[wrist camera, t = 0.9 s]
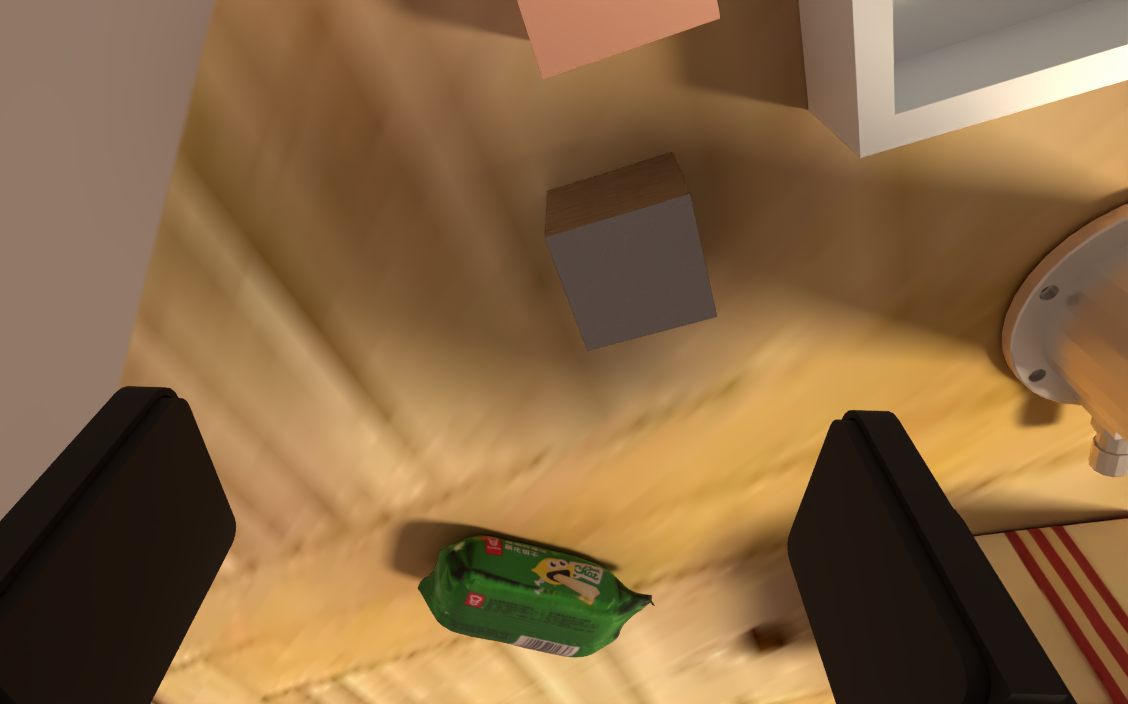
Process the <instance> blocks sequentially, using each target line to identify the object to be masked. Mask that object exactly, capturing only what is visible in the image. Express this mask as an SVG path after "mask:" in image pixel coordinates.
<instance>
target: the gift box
mask: <svg viewBox="0 0 1128 704" xmlns="http://www.w3.org/2000/svg"><path fill="white" fill-rule="evenodd" d="M974 538H975V540H976V541H977V543H978V544H979V546H980V548H981V549H982V551H983V552H984V554H985V556H986V557H987V559H988V561H989V562H990V564H991V565H992V567H993V569H994V570H995V572H996V573H997V575H998V577H999V578H1000V580H1001V581H1002V583H1003V585H1004V586H1005V588H1006V590H1007V591H1008V593H1009V594H1010V596H1011V598H1012V599H1013V601H1014V602H1015V604H1016V606H1017V607H1018V609H1019V610H1020V612H1021V614H1022V615H1023V617H1024V618H1025V620H1026V622H1027V623H1028V625H1029V627H1030V628H1031V630H1032V631H1033V633H1034V635H1035V636H1036V638H1037V639H1038V641H1039V643H1040V644H1041V646H1042V647H1043V649H1044V651H1045V652H1046V654H1047V656H1048V657H1049V659H1050V660H1051V662H1052V664H1053V665H1054V667H1055V668H1056V670H1057V672H1058V673H1059V675H1060V676H1061V678H1062V680H1063V681H1064V683H1065V685H1066V686H1067V688H1068V689H1069V691H1070V693H1071V694H1072V696H1073V697H1074V699H1075V701H1076V702H1077V704H1128V518H1126V519H1117V520H1109V521H1100V522H1090V523H1081V524H1073V525H1066V526H1054V527H1046V528H1037V529H1028V530H1019V531H1012V532H1005V533H998V534H990V535H981V536H974Z"/></svg>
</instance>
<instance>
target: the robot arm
mask: <svg viewBox="0 0 1128 704" xmlns="http://www.w3.org/2000/svg"><path fill="white" fill-rule="evenodd" d="M1002 351H1003V354H1004V357H1005V360H1006V363H1007V365H1008V366H1009V368H1010V369H1011V370H1012V372H1013V373H1014V374H1015V376H1016V377H1017V378H1018V379H1019V380H1020V381H1021V382H1022V383H1023V384H1024V385H1025V386H1026V387H1027V388H1028V389H1029V390H1030V391H1032V392H1034V393H1036V394H1037V395H1039V396H1041V397H1043V398H1045V399H1048V400H1052V401H1055V402H1059V403H1063V404H1074V405H1082V406H1083V407H1084V408H1085V409H1086V410H1087V411H1088V412H1089V413H1090V415H1091V416H1092V417H1091V425H1092V427H1093V428H1094V430H1095V431H1096V432H1097V434H1096V436H1095V437H1094V438H1093V442H1092V446H1091V451H1090V455H1089V465H1090V466H1091V467H1092V468H1093V469H1094V471H1096V472H1098V473H1100V474H1102V475H1106V476H1111V477H1120V476H1125V475H1127V474H1128V204H1125V205H1123V206H1120V207H1118V208H1116V209H1115V210H1113V211H1111V212H1109V213H1107V214H1105V215H1103V216H1101V217H1099V218H1097V219H1095V220H1093V221H1092V222H1090V223H1089V224H1087V225H1086V226H1084V227H1083V228H1081V229H1080V230H1078V231H1077V232H1075V233H1074V234H1072V235H1071V236H1069V237H1068V238H1067V239H1066V240H1064V241H1063V242H1062V243H1061V244H1060V245H1059V246H1057V247H1056V248H1055V249H1054V250H1053V251H1052V252H1050V253H1049V254H1048V255H1047V256H1046V257H1045V258H1044V259H1043V260H1042V261H1041V262H1040V263H1039V265H1038V266H1037V267H1036V268H1035V269H1034V270H1033V271H1032V272H1031V273H1030V275H1029V276H1028V277H1027V278H1026V280H1025V281H1024V283H1023V284H1022V286H1021V287H1020V289H1019V290H1018V292H1017V293H1016V295H1015V296H1014V299H1013V301H1012V303H1011V305H1010V307H1009V310H1008V312H1007V314H1006V317H1005V321H1004V326H1003V331H1002ZM235 532H236V521H235V518H234V515H233V513H232V510H231V508H230V505H229V503H228V500H227V498H226V495H225V493H224V490H223V488H222V485H221V483H220V480H219V478H218V475H217V473H216V470H215V468H214V465H213V463H212V460H211V458H210V456H209V453H208V451H207V448H206V446H205V443H204V441H203V438H202V436H201V433H200V431H199V428H198V426H197V423H196V421H195V418H194V416H193V413H192V411H191V408H190V406H189V404H188V402H187V401H186V400H185V399H182V398H178V396H177V394H176V393H175V392H174V391H173V390H172V389H171V388H165V387H135V386H127V387H123V388H121V389H120V390H118V391H117V392H116V393H115V394H114V395H113V396H112V397H111V398H110V399H109V401H108V402H107V403H106V404H105V405H104V406H103V407H102V408H101V410H100V411H99V412H98V413H97V414H96V415H95V416H94V417H93V418H92V420H91V421H90V422H89V423H88V424H87V425H86V426H85V427H84V428H83V430H82V431H81V432H80V433H79V434H78V435H77V436H76V438H74V440H73V441H72V442H71V443H70V444H69V445H68V446H67V447H66V449H65V450H64V451H63V452H62V453H61V454H60V455H59V456H58V457H57V459H56V460H55V461H54V462H53V463H52V464H51V465H50V466H49V467H48V469H47V470H46V471H45V472H44V473H43V474H42V475H41V476H40V477H39V479H38V480H37V481H36V482H35V483H34V484H33V485H32V486H31V488H30V489H29V490H28V491H27V492H26V493H25V494H24V495H23V497H22V498H21V499H20V500H19V501H18V502H17V503H16V504H15V505H14V507H13V508H12V509H11V510H10V511H9V512H8V513H7V514H6V515H5V517H4V518H3V519H2V520H1V521H0V704H150V703H151V701H152V699H153V697H154V695H155V694H156V692H157V690H158V688H159V686H160V684H161V682H162V680H163V678H164V676H165V674H166V672H167V670H168V668H169V666H170V664H171V662H172V660H173V658H174V657H175V655H176V653H177V651H178V649H179V647H180V645H181V643H182V641H183V639H184V637H185V635H186V633H187V631H188V629H189V627H190V625H191V623H192V621H193V620H194V618H195V616H196V614H197V612H198V610H199V608H200V606H201V604H202V602H203V600H204V598H205V596H206V594H207V592H208V590H209V588H210V586H211V584H212V582H213V581H214V579H215V577H216V575H217V573H218V571H219V569H220V567H221V565H222V563H223V561H224V559H225V557H226V555H227V553H228V551H229V549H230V547H231V545H232V543H233V541H234V537H235ZM788 556H789V560H790V564H791V567H792V570H793V573H794V576H795V579H796V582H797V585H798V588H799V591H800V594H801V597H802V601H803V604H804V607H805V610H806V613H807V616H808V619H809V622H810V625H811V628H812V631H813V634H814V637H815V640H816V644H817V647H818V650H819V653H820V656H821V659H822V662H823V665H824V668H825V671H826V674H827V677H828V680H829V683H830V687H831V690H832V693H833V696H834V699H835V702H836V704H1077V702H1076V701H1075V699H1074V697H1073V696H1072V694H1071V693H1070V691H1069V689H1068V688H1067V686H1066V685H1065V683H1064V681H1063V680H1062V678H1061V676H1060V675H1059V673H1058V672H1057V670H1056V668H1055V667H1054V665H1053V664H1052V662H1051V660H1050V659H1049V657H1048V656H1047V654H1046V652H1045V651H1044V649H1043V647H1042V646H1041V644H1040V643H1039V641H1038V639H1037V638H1036V636H1035V635H1034V633H1033V631H1032V630H1031V628H1030V627H1029V625H1028V623H1027V622H1026V620H1025V618H1024V617H1023V615H1022V614H1021V612H1020V610H1019V609H1018V607H1017V606H1016V604H1015V602H1014V601H1013V599H1012V598H1011V596H1010V594H1009V593H1008V591H1007V590H1006V588H1005V586H1004V585H1003V583H1002V581H1001V580H1000V578H999V577H998V575H997V573H996V572H995V570H994V569H993V567H992V565H991V564H990V562H989V561H988V559H987V557H986V556H985V554H984V552H983V551H982V549H981V548H980V546H979V544H978V543H977V541H976V540H975V538H974V536H973V535H972V533H971V532H970V530H969V528H968V527H967V525H966V523H965V522H964V520H963V519H962V518H961V516H960V515H959V514H958V513H957V511H956V510H955V509H953V507H952V506H951V504H950V502H949V501H948V499H947V497H946V496H945V494H944V493H943V491H942V489H941V488H940V486H939V484H938V483H937V481H936V480H935V478H934V476H933V475H932V473H931V471H930V470H929V468H928V467H927V465H926V463H925V462H924V460H923V458H922V457H921V455H920V454H919V452H918V450H917V449H916V447H915V445H914V444H913V442H912V441H911V439H910V437H909V436H908V434H907V433H906V431H905V429H904V428H903V426H902V424H901V423H900V421H899V420H898V418H897V417H896V416H895V415H894V414H893V413H891V412H889V411H864V410H850V411H848V412H846V413H845V414H844V416H843V418H842V420H834V421H833V422H832V424H831V425H830V428H829V430H828V433H827V436H826V438H825V441H824V444H823V446H822V449H821V452H820V454H819V457H818V459H817V462H816V465H815V467H814V470H813V473H812V475H811V478H810V481H809V483H808V486H807V489H806V491H805V494H804V496H803V499H802V502H801V504H800V507H799V510H798V512H797V515H796V518H795V520H794V523H793V526H792V528H791V531H790V534H789V537H788Z"/></svg>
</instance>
